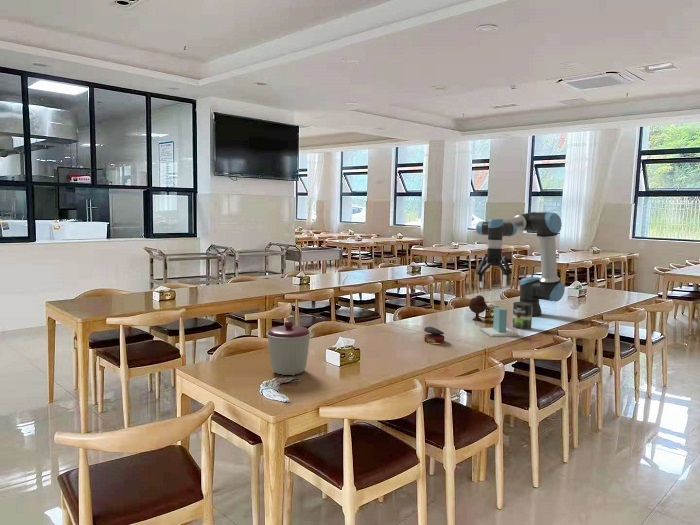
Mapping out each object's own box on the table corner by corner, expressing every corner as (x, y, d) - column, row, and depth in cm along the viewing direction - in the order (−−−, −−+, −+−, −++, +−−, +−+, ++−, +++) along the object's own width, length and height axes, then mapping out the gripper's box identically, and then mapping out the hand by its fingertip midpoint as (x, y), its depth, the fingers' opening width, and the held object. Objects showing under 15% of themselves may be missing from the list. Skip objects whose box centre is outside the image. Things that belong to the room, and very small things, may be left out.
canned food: (423, 350, 260) (417, 331, 263) (440, 346, 264) (434, 327, 267) (433, 345, 250) (427, 325, 253) (451, 341, 254) (444, 321, 257)
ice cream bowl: (484, 318, 314) (485, 293, 312) (487, 322, 303) (488, 297, 301) (466, 317, 315) (467, 293, 313) (469, 321, 304) (470, 296, 302)
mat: (507, 330, 284) (507, 329, 284) (520, 337, 268) (520, 336, 268) (479, 330, 282) (479, 329, 282) (491, 338, 266) (491, 337, 266)
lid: (506, 329, 283) (507, 305, 281) (517, 335, 269) (519, 310, 268) (481, 330, 281) (482, 306, 280) (492, 336, 267) (493, 311, 266)
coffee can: (526, 331, 281) (528, 305, 280) (509, 328, 288) (510, 303, 287) (534, 328, 289) (536, 303, 287) (517, 325, 296) (518, 301, 294)
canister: (277, 363, 222) (277, 315, 219) (317, 367, 216) (317, 317, 214) (258, 376, 204) (257, 324, 202) (301, 381, 199) (301, 327, 197)
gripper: (511, 247, 283) (509, 285, 285) (470, 247, 276) (468, 286, 278) (519, 248, 275) (517, 287, 277) (476, 248, 269) (475, 288, 271)
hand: (492, 287), depth 278 cm, fingers open, 13 cm apart
